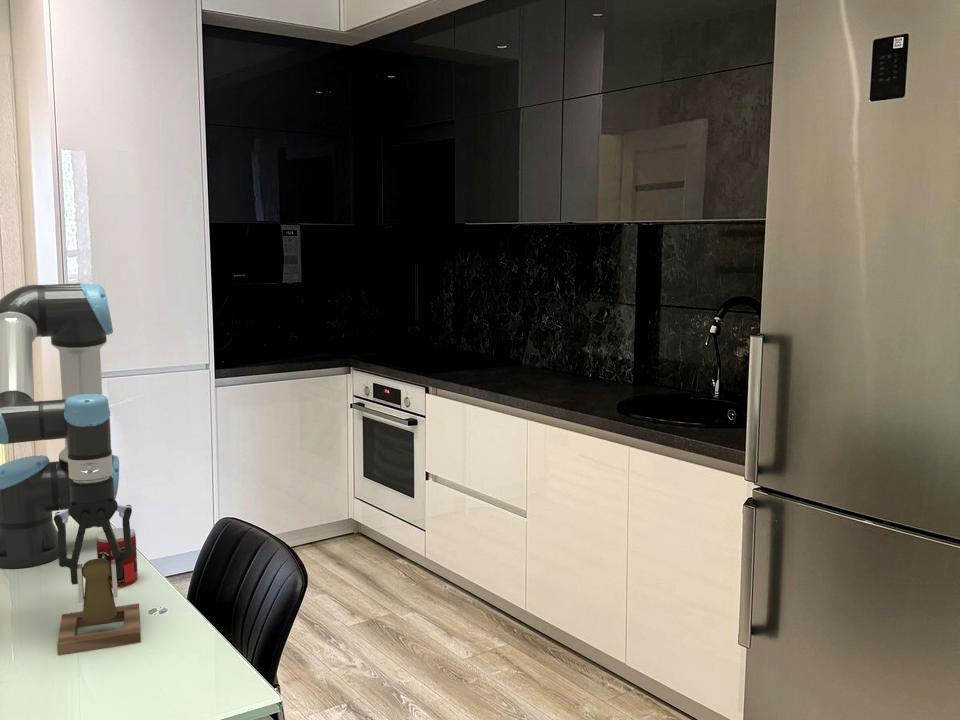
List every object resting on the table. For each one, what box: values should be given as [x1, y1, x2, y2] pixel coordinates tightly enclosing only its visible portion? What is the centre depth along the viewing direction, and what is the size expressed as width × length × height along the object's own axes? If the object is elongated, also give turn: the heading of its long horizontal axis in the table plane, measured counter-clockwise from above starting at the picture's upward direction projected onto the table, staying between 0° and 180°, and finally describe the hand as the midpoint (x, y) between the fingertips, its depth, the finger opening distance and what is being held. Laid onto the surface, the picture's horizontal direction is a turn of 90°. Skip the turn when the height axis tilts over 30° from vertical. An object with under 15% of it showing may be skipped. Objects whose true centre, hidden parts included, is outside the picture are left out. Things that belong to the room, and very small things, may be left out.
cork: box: [82, 558, 117, 623], centre depth 167 cm, size 6×6×11 cm
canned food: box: [95, 527, 139, 589], centre depth 192 cm, size 8×8×11 cm
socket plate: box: [56, 603, 142, 656], centre depth 168 cm, size 14×14×2 cm
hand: (98, 597), depth 167 cm, fingers closed on cork, 5 cm apart
